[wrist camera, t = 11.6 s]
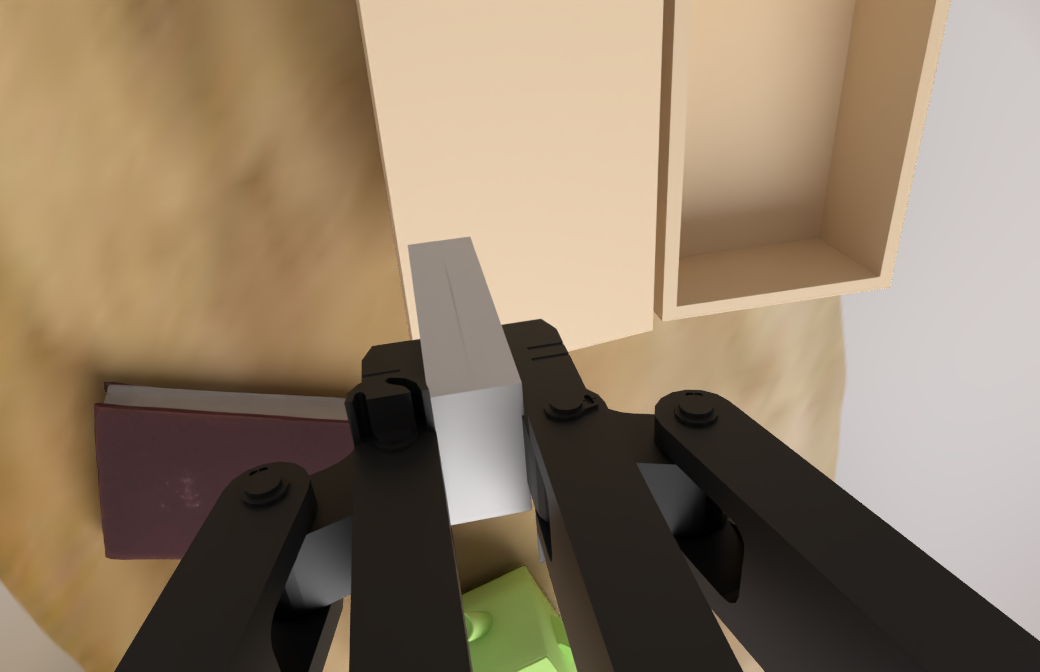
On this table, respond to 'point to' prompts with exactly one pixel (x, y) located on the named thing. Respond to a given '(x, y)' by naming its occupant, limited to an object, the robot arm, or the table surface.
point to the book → (197, 456)
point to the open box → (787, 147)
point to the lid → (525, 150)
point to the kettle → (515, 627)
